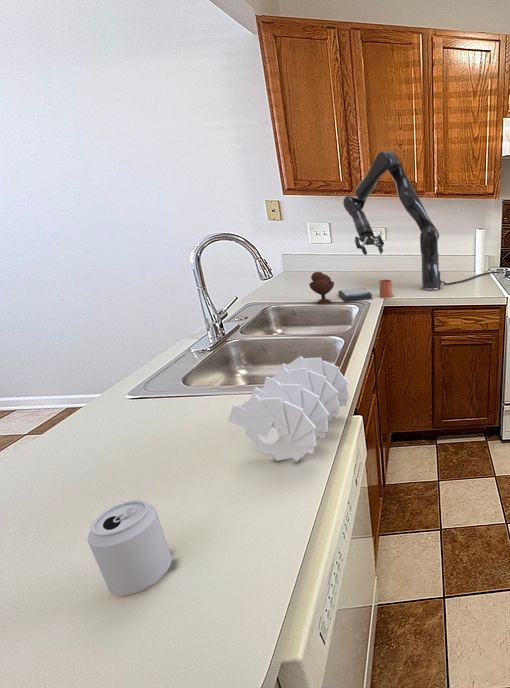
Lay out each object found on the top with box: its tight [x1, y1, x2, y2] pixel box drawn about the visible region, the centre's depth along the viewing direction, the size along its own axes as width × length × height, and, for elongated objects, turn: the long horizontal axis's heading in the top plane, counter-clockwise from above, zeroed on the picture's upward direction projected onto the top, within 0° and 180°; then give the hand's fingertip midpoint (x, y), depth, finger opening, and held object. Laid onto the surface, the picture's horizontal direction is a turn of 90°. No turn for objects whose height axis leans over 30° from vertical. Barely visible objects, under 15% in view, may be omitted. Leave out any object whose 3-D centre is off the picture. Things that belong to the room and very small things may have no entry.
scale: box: [337, 287, 373, 303], centre depth 199 cm, size 13×13×3 cm
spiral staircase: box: [227, 355, 350, 462], centre depth 90 cm, size 18×18×25 cm
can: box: [87, 499, 173, 597], centre depth 58 cm, size 8×8×12 cm
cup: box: [378, 279, 393, 299], centre depth 202 cm, size 6×6×8 cm
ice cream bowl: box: [308, 271, 335, 305], centre depth 188 cm, size 11×11×15 cm
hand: (374, 253), depth 205 cm, fingers open, 8 cm apart
